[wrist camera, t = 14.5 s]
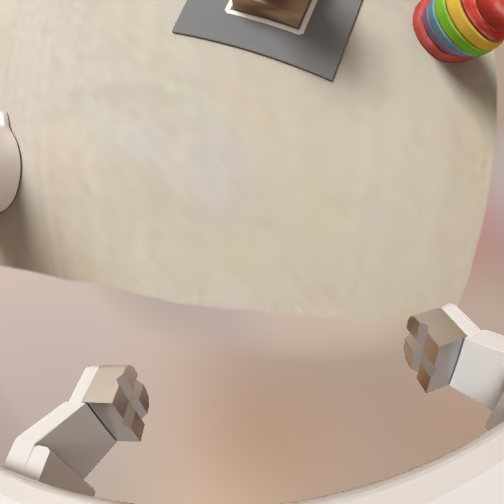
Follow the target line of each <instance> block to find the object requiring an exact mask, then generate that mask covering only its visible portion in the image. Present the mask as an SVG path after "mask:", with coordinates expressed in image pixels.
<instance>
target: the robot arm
mask: <svg viewBox="0 0 504 504" xmlns="http://www.w3.org/2000/svg"><path fill="white" fill-rule="evenodd" d="M19 180H20V154H19V149H18V145H17V142H16V140H15V137H14V135H13V134H12V132H11V130H10V127H9V121H8V115H7V113H6V112H5V111H0V212H1V211H3V210H5V209H6V208H7V207H8V206H9V205H10V204H11V203H12V201H13V199H14V197H15V195H16V192H17V189H18V185H19ZM407 329H408V330H409V332H410V333H409V335H408V336H407V338H406V339H405V344H404V352H405V358H406V360H407V363H408V365H409V366H410V368H411V369H413V370H416V371H418V375H417V379H418V380H419V382H420V384H421V386H422V387H423V388H424V390H425V392H426V393H428V392H430V391H433V390H436V389H438V388H441V387H443V386H446V385H448V384H450V385H449V386H451V387H453V388H454V389H456V390H458V391H460V392H461V393H463V394H465V395H467V396H469V397H470V398H472V399H473V400H475V401H477V402H479V403H480V404H482V405H484V406H486V407H487V408H489V409H491V410H493V412H492V414H491V415H490V417H489V419H488V421H487V422H486V425H485V427H486V428H487V430H488V432H486V433H484V434H482V435H481V436H479V437H477V438H476V439H474V440H472V441H470V442H469V443H467V444H465V445H463V446H461V447H459V448H457V449H455V450H453V451H451V452H449V453H447V454H445V455H443V456H441V457H439V458H437V459H434V460H432V461H430V462H428V463H425V464H423V465H421V466H418V467H416V468H414V469H411V470H408V471H406V472H403V473H401V474H398V475H395V476H392V477H390V478H387V479H384V480H381V481H378V482H375V483H372V484H368V485H365V486H361V487H358V488H355V489H351V490H347V491H343V492H339V493H335V494H331V495H326V496H322V497H317V498H312V499H306V500H301V501H295V502H289V503H281V504H504V336H503V335H500V334H497V333H494V332H491V331H488V330H482V331H481V330H480V329H479V328H478V327H477V326H476V325H475V324H474V323H473V322H472V321H471V320H470V319H469V318H468V317H467V316H466V315H465V314H464V313H463V312H462V311H461V310H460V309H459V308H458V307H457V306H455V305H454V304H452V303H449V304H446V305H443V306H440V307H438V308H436V309H433V310H429V311H426V312H423V313H420V314H417V315H414V316H410V318H409V320H408V324H407ZM136 378H137V373H136V371H135V369H134V367H133V366H130V365H109V366H108V365H103V366H88V367H87V368H85V371H84V373H83V374H82V376H81V378H80V380H79V382H78V384H77V386H76V388H75V390H74V392H73V394H72V396H71V398H70V400H69V402H66V401H65V402H64V403H62V404H61V405H60V406H58V407H57V408H56V409H54V410H53V411H52V412H50V413H49V414H48V415H46V416H45V417H44V418H42V419H41V420H40V421H38V422H37V423H36V424H34V425H33V426H32V427H30V428H29V429H28V430H26V431H25V432H24V433H22V434H21V435H20V436H18V437H17V438H16V441H15V442H14V444H13V446H12V448H11V451H10V453H9V455H8V457H7V459H6V461H5V464H4V466H3V467H1V466H0V504H132V503H125V502H118V501H113V500H107V499H102V498H97V497H94V495H95V490H94V489H93V487H91V486H90V485H89V484H88V483H86V482H85V481H84V478H85V477H86V476H87V475H88V474H89V473H90V472H91V470H92V469H93V468H94V467H95V466H96V465H97V464H98V463H99V461H100V460H101V459H102V458H103V457H104V456H105V455H106V453H107V452H108V451H109V450H110V449H111V448H112V446H114V444H115V443H116V441H141V437H142V433H143V428H144V423H143V421H142V418H143V417H144V416H145V415H146V414H147V412H148V408H149V397H148V394H147V391H146V389H145V387H144V385H143V384H141V383H140V382H139V381H137V380H136Z"/></svg>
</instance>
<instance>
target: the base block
mask: <svg viewBox="0 0 504 504" xmlns="http://www.w3.org/2000/svg"><path fill="white" fill-rule="evenodd" d="M308 2H309V0H232V4H233V9H237V10H241V11H245V12H249V13H252V14H256V15H259V16H263V17H266V18H269V19H273V20H276V21H279V22H282V23H285V24H288V25H291V26H294V27H296V28H298V25H299V23H300V21H301V18H302V16H303V14H304V11H305V9H306V7H307V4H308Z"/></svg>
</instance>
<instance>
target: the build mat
mask: <svg viewBox="0 0 504 504" xmlns="http://www.w3.org/2000/svg"><path fill="white" fill-rule="evenodd" d="M361 1H362V0H309V2H308V4H307V7H306V9H305V11H304V14H303V16H302V18H301V21H300V23H299V25H298V28H296V27H294V26H291V25H288V24H285V23H282V22H279V21H276V20H273V19H269V18H266V17H263V16H259V15H256V14H252V13H249V12H245V11H241V10H237V9H233V4H232V0H187V2H186V4H185V5H184V7H183V9H182V11H181V13H180V15H179V17H178V20H177V22H176V24H175V26H174V28H173V30H172V32H173V33H179V34H184V35H189V36H194V37H199V38H203V39H208V40H212V41H216V42H220V43H224V44H228V45H231V46H235V47H239V48H242V49H246V50H249V51H252V52H255V53H259V54H262V55H265V56H268V57H271V58H274V59H277V60H280V61H282V62H285V63H288V64H291V65H293V66H296V67H299V68H301V69H304V70H306V71H309V72H311V73H314V74H316V75H319V76H321V77H323V78H326V79H328V80H330V81H332V79H333V76H334V73H335V71H336V68H337V65H338V63H339V60H340V58H341V55H342V52H343V50H344V47H345V44H346V41H347V39H348V36H349V33H350V31H351V28H352V25H353V23H354V20H355V17H356V15H357V12H358V9H359V6H360V4H361Z"/></svg>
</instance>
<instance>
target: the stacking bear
mask: <svg viewBox="0 0 504 504" xmlns="http://www.w3.org/2000/svg"><path fill="white" fill-rule="evenodd" d="M413 26H414V30H415V33H416V35H417V37H418V39H419V41H420V42H421V44H422V45H423V46H424V47H425V48H426V49H427V50H428V51H429V52H430V53H431V54H432V55H433V56H435V57H436V58H438V59H440V60H443V61H446V62H452V63H459V62H464V61H467V60H469V59H471V58H472V57H474V56H480V55H484V54H486V53H488V52H490V51H492V50H493V49H495V48H496V47H498V46H499V45H500V44H501V43H502V42H503V40H504V0H421V1H420V2H419V3H418V5H417V6H416V8H415V11H414V15H413Z"/></svg>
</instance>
